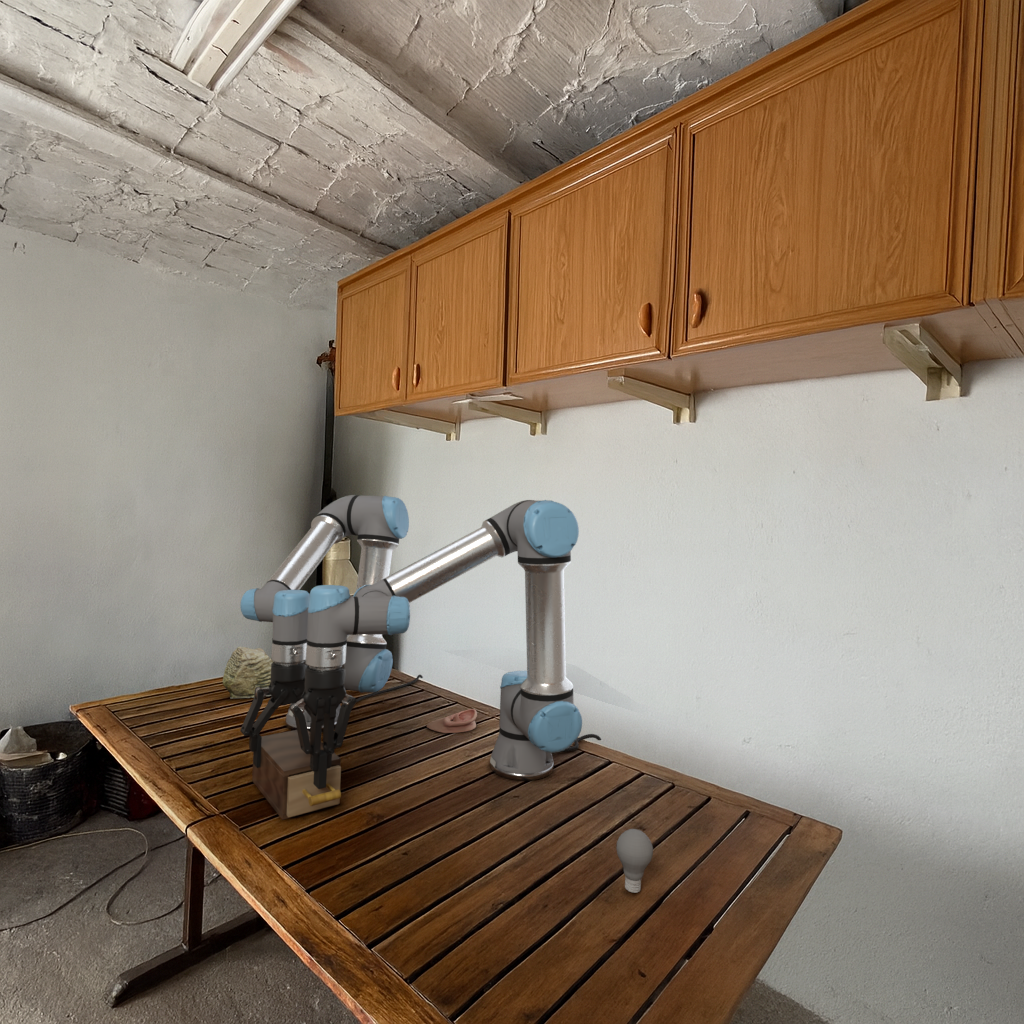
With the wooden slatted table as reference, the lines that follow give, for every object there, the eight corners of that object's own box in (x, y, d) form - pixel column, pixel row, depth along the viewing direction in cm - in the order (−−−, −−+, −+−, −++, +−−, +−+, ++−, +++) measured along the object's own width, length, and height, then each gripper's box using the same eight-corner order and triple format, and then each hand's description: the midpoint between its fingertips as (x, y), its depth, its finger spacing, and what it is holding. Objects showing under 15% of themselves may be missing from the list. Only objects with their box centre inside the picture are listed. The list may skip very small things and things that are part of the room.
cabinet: (338, 804, 131) (340, 758, 131) (282, 820, 124) (284, 771, 123) (304, 769, 147) (305, 727, 147) (252, 781, 140) (253, 737, 139)
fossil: (218, 695, 195) (220, 647, 195) (278, 685, 208) (279, 640, 207) (228, 703, 189) (230, 653, 188) (289, 692, 201) (290, 645, 201)
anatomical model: (423, 716, 174) (436, 703, 185) (422, 730, 174) (436, 716, 185) (470, 721, 171) (480, 708, 182) (469, 736, 171) (480, 722, 182)
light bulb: (610, 879, 108) (613, 822, 108) (644, 879, 109) (647, 822, 109) (619, 902, 102) (622, 840, 102) (655, 901, 103) (658, 840, 103)
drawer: (351, 815, 125) (352, 777, 125) (298, 830, 118) (300, 790, 118) (306, 770, 144) (307, 737, 144) (259, 781, 138) (260, 746, 137)
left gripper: (236, 672, 129) (232, 778, 129) (347, 658, 144) (344, 753, 144) (227, 663, 135) (223, 764, 135) (334, 651, 150) (331, 742, 150)
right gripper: (299, 674, 116) (292, 801, 117) (365, 666, 124) (359, 785, 125) (285, 664, 122) (279, 786, 123) (349, 657, 130) (343, 771, 131)
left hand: (285, 759), depth 140 cm, fingers closed on cabinet, 12 cm apart
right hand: (319, 785), depth 124 cm, fingers closed
